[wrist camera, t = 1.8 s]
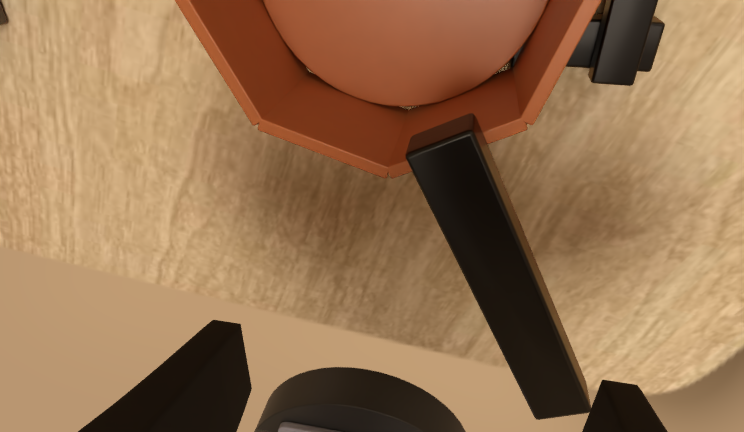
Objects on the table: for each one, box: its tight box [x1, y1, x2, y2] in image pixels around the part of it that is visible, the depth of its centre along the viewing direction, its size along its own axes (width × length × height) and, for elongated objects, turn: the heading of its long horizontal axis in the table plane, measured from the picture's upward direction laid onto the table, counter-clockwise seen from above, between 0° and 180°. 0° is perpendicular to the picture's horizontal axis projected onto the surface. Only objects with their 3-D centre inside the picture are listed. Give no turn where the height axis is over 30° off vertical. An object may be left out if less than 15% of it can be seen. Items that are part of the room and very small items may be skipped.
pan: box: [175, 0, 602, 420], centre depth 12 cm, size 15×8×4 cm, turn 27°
